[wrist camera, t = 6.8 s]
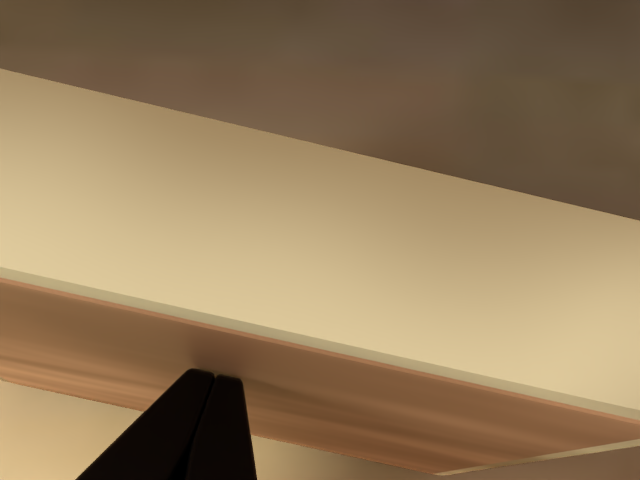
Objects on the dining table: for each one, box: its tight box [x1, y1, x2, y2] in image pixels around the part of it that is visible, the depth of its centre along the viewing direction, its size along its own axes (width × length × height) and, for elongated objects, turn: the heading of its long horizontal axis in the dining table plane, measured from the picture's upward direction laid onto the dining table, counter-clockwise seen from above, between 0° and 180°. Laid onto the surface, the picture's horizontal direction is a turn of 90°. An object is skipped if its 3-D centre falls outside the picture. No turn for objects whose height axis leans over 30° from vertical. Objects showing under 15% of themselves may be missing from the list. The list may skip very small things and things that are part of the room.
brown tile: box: [0, 69, 640, 476], centre depth 11 cm, size 2×12×10 cm, turn 78°
